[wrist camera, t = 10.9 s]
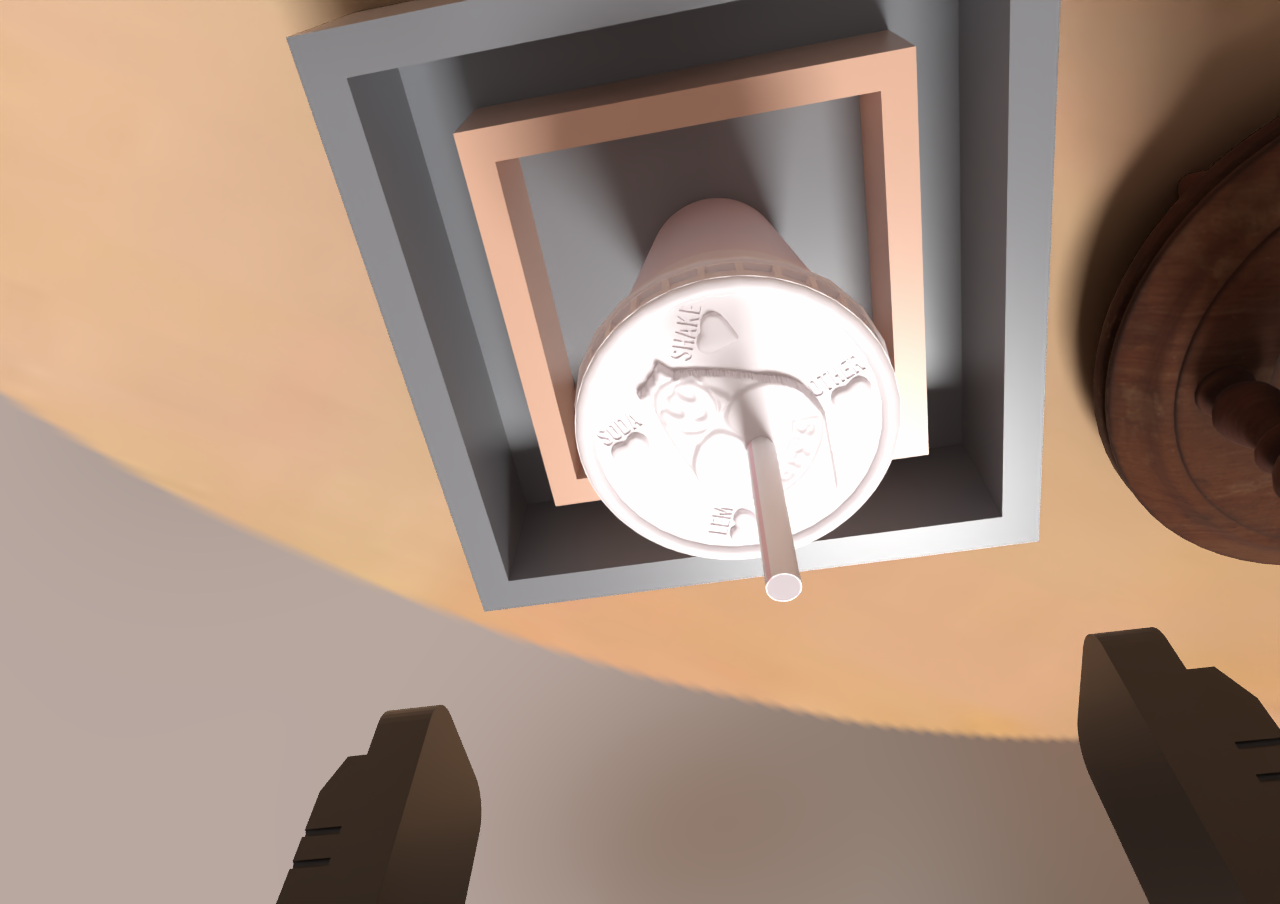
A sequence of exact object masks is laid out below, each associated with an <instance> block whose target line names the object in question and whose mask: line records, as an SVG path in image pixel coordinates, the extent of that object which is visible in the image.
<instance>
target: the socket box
mask: <svg viewBox="0 0 1280 904" xmlns="http://www.w3.org/2000/svg"><path fill="white" fill-rule="evenodd" d="M1060 1H1061V0H413V1H408V2H403V3H399V4H394V5H389V6H384V7H379V8H374V9H370V10H365V11H360V12H355V13H352V14H349V15H347V16H344V17H341V18H338V19H336V20H333V21H330V22H327V23H325V24H322V25H319V26H316V27H314V28H311V29H308V30H305V31H303V32H300V33H297V34H295V35H292V36H289V37H286V39H287V42H288V44H289V47H290V50H291V53H292V56H293V59H294V62H295V65H296V68H297V70H298V73H299V76H300V79H301V82H302V85H303V88H304V91H305V94H306V96H307V99H308V102H309V105H310V108H311V111H312V114H313V117H314V120H315V123H316V125H317V128H318V131H319V134H320V137H321V140H322V143H323V146H324V149H325V151H326V154H327V157H328V160H329V163H330V166H331V169H332V172H333V175H334V177H335V180H336V183H337V186H338V189H339V192H340V195H341V198H342V201H343V203H344V206H345V209H346V212H347V215H348V218H349V221H350V224H351V227H352V230H353V232H354V235H355V238H356V241H357V244H358V247H359V250H360V253H361V256H362V258H363V261H364V264H365V267H366V270H367V273H368V276H369V279H370V282H371V284H372V287H373V290H374V293H375V296H376V299H377V302H378V305H379V308H380V311H381V313H382V316H383V319H384V322H385V325H386V328H387V331H388V334H389V337H390V339H391V342H392V345H393V348H394V351H395V354H396V357H397V360H398V363H399V365H400V368H401V371H402V374H403V377H404V380H405V383H406V386H407V389H408V391H409V394H410V397H411V400H412V403H413V406H414V409H415V412H416V415H417V418H418V420H419V423H420V426H421V429H422V432H423V435H424V438H425V441H426V444H427V446H428V449H429V452H430V455H431V458H432V461H433V464H434V467H435V470H436V472H437V475H438V478H439V481H440V484H441V487H442V490H443V493H444V496H445V499H446V501H447V504H448V507H449V510H450V513H451V516H452V519H453V522H454V525H455V527H456V530H457V533H458V536H459V539H460V542H461V545H462V548H463V551H464V553H465V556H466V559H467V562H468V565H469V568H470V571H471V574H472V577H473V579H474V582H475V585H476V588H477V591H478V594H479V597H480V600H481V603H482V606H483V608H484V611H493V610H501V609H509V608H516V607H524V606H532V605H540V604H548V603H556V602H564V601H572V600H580V599H588V598H595V597H603V596H611V595H619V594H627V593H635V592H643V591H651V590H659V589H666V588H674V587H682V586H690V585H698V584H706V583H714V582H722V581H730V580H738V579H745V578H753V577H761V576H764V572H763V565H762V557H761V558H754V559H742V560H720V559H710V558H703V557H697V556H692V555H688V554H684V553H681V552H677V551H674V550H672V549H669V548H666V547H663V546H661V545H659V544H657V543H655V542H652V541H651V540H649V539H647V538H645V537H643V536H642V535H640V534H638V533H637V532H636V531H634V530H633V529H631V528H630V527H628V526H627V525H626V524H625V523H623V522H622V521H621V520H620V519H619V518H618V517H617V516H616V515H615V514H614V513H613V512H612V511H611V510H610V509H609V508H608V507H607V506H606V505H605V504H604V502H603V501H602V500H601V499H600V497H599V496H598V494H597V493H596V491H595V490H594V488H593V487H592V485H591V483H590V481H589V479H588V477H587V475H586V473H585V471H584V468H583V466H582V463H581V460H580V456H579V452H578V449H577V443H576V436H575V407H574V403H575V395H576V388H577V380H578V373H579V367H580V365H581V363H582V360H583V358H584V356H585V354H586V352H587V349H588V347H589V345H590V343H591V340H592V338H593V336H594V334H595V332H596V330H597V329H598V328H599V327H600V326H601V325H602V323H603V322H604V321H605V320H606V319H607V317H608V316H609V315H610V314H611V313H612V312H613V310H614V309H615V308H616V307H617V306H618V304H619V303H620V302H621V301H622V300H623V299H624V298H626V297H627V296H629V294H630V292H631V290H632V288H633V286H634V284H635V281H636V279H637V277H638V275H639V273H640V271H641V269H642V266H643V264H644V262H645V260H646V258H647V256H648V253H649V251H650V249H651V247H652V245H653V243H654V240H655V238H656V236H657V234H658V232H659V231H660V229H661V228H662V226H663V225H664V223H665V222H666V221H667V220H668V219H669V218H670V217H671V216H672V215H673V214H674V213H676V212H677V211H678V210H680V209H681V208H683V207H685V206H687V205H689V204H691V203H693V202H696V201H700V200H703V199H709V198H727V199H732V200H736V201H740V202H742V203H745V204H747V205H749V206H751V207H752V208H754V209H755V210H757V211H758V212H759V213H761V214H762V215H763V216H764V217H765V218H766V219H767V220H768V222H769V223H770V224H771V225H772V226H773V227H774V229H775V230H776V231H777V232H778V233H779V235H780V236H781V237H782V238H783V239H784V240H785V242H786V243H787V244H788V245H789V246H790V248H791V249H792V250H793V251H794V252H795V254H796V255H797V256H798V257H799V258H800V259H801V261H802V262H803V263H804V264H805V265H806V267H807V268H808V269H809V270H810V271H811V272H813V273H815V274H818V275H820V276H822V277H824V278H827V279H829V280H831V281H832V282H833V283H835V284H836V285H837V286H838V287H839V288H840V289H842V290H843V291H844V292H845V293H846V294H848V295H849V296H850V297H851V298H852V299H854V300H855V301H856V302H857V303H858V304H860V305H861V306H862V307H863V308H864V310H865V311H866V313H867V314H868V316H869V317H870V319H871V320H872V322H873V324H874V325H875V327H876V328H877V330H878V331H879V333H880V334H881V336H882V337H883V339H884V340H885V344H886V347H887V351H888V354H889V358H890V361H891V365H892V367H893V369H894V372H895V376H896V379H897V382H898V387H899V393H900V399H901V426H900V432H899V438H898V442H897V446H896V449H895V453H894V455H893V458H892V460H891V463H890V465H889V468H888V469H887V471H886V473H885V475H884V477H883V479H882V481H881V482H880V484H879V485H878V487H877V488H876V490H875V491H874V492H873V494H872V495H871V496H870V497H869V498H868V500H867V501H866V502H865V503H864V504H863V505H862V506H861V507H860V508H859V509H858V510H857V511H856V512H855V513H854V514H853V515H852V516H851V517H850V518H848V519H847V520H846V521H845V522H844V523H842V524H841V525H839V526H838V527H837V528H835V529H834V530H832V531H831V532H829V533H827V534H826V535H824V536H822V537H821V538H819V539H817V540H815V541H813V542H810V543H808V544H806V545H804V546H801V547H799V548H796V549H795V552H796V557H797V562H798V568H799V572H801V571H809V570H817V569H824V568H832V567H840V566H848V565H856V564H864V563H872V562H880V561H888V560H895V559H903V558H911V557H919V556H927V555H935V554H943V553H951V552H959V551H967V550H974V549H982V548H990V547H998V546H1006V545H1014V544H1022V543H1030V542H1038V541H1039V522H1040V497H1041V473H1042V448H1043V423H1044V398H1045V373H1046V349H1047V324H1048V299H1049V274H1050V249H1051V225H1052V200H1053V175H1054V150H1055V125H1056V101H1057V76H1058V51H1059V26H1060Z"/></svg>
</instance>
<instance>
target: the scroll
mask: <svg viewBox="0 0 1280 904" xmlns="http://www.w3.org/2000/svg"><path fill="white" fill-rule="evenodd" d="M1178 193H1179V199H1178V200H1177V201H1176V202H1175V203H1174V204H1173V206H1172V207H1171V208H1170V209H1169V210H1168V212H1167V213H1166V214H1165V215H1164V217H1163V218H1162V219H1161V220H1160V221H1159V223H1158V224H1157V225H1156V226H1155V228H1154V229H1153V230H1152V232H1151V233H1150V235H1149V236H1148V238H1147V239H1146V240H1145V242H1144V243H1143V245H1142V246H1141V248H1140V249H1139V251H1138V252H1137V254H1136V255H1135V257H1134V259H1133V260H1132V262H1131V264H1130V266H1129V267H1128V269H1127V271H1126V273H1125V274H1124V276H1123V278H1122V280H1121V282H1120V284H1119V287H1118V289H1117V291H1116V293H1115V295H1114V297H1113V299H1112V302H1111V304H1110V307H1109V310H1108V313H1107V315H1106V318H1105V321H1104V324H1103V327H1102V331H1101V335H1100V339H1099V343H1098V347H1097V352H1096V359H1095V366H1094V381H1093V397H1094V409H1095V416H1096V421H1097V425H1098V430H1099V434H1100V437H1101V440H1102V443H1103V445H1104V448H1105V451H1106V453H1107V455H1108V457H1109V459H1110V461H1111V463H1112V465H1113V467H1114V469H1115V470H1116V471H1117V473H1118V474H1119V476H1120V477H1121V479H1122V480H1123V482H1124V483H1125V484H1126V486H1127V487H1128V488H1129V489H1130V490H1131V491H1132V492H1133V494H1134V495H1135V497H1136V498H1137V499H1138V501H1139V502H1140V503H1141V504H1142V505H1143V506H1144V507H1145V508H1146V509H1147V510H1148V512H1149V513H1150V514H1151V515H1152V516H1153V517H1155V518H1156V519H1157V520H1158V521H1159V522H1160V523H1162V524H1163V525H1164V526H1165V527H1166V528H1168V529H1170V530H1171V531H1173V532H1174V533H1176V534H1177V535H1179V536H1180V537H1182V538H1184V539H1186V540H1188V541H1190V542H1192V543H1194V544H1196V545H1198V546H1200V547H1202V548H1204V549H1207V550H1210V551H1212V552H1215V553H1218V554H1220V555H1224V556H1228V557H1232V558H1235V559H1239V560H1244V561H1250V562H1256V563H1262V564H1274V565H1280V117H1278V118H1276V119H1274V120H1273V121H1271V122H1270V123H1269V124H1267V125H1266V126H1264V127H1263V128H1261V129H1260V130H1258V131H1257V132H1255V133H1254V134H1252V135H1251V136H1249V137H1248V138H1246V139H1245V140H1244V141H1242V142H1241V143H1240V144H1239V145H1237V146H1236V147H1235V148H1233V149H1232V150H1231V151H1230V152H1228V153H1227V154H1226V155H1225V156H1223V157H1222V158H1221V159H1219V160H1218V161H1217V162H1216V163H1215V164H1214V165H1213V166H1212V167H1211V168H1210V169H1208V170H1207V171H1198V172H1194V173H1191V174H1187V175H1185V176H1184V177H1183V178H1182V179H1181V180H1180V181H1179V184H1178Z"/></svg>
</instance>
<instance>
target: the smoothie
mask: <svg viewBox="0 0 1280 904" xmlns="http://www.w3.org/2000/svg"><path fill="white" fill-rule="evenodd" d="M574 407H575V436H576V443H577V449H578V452H579V456H580V460H581V463H582V466H583V468H584V471H585V473H586V475H587V477H588V479H589V481H590V483H591V485H592V487H593V488H594V490H595V491H596V493H597V494H598V496H599V497H600V499H601V500H602V501H603V502H604V504H605V505H606V506H607V507H608V508H609V509H610V510H611V511H612V512H613V513H614V514H615V515H616V516H617V517H618V518H619V519H620V520H621V521H622V522H623V523H625V524H626V525H627V526H628V527H630V528H631V529H633V530H634V531H636V532H637V533H638V534H640V535H642V536H643V537H645V538H647V539H649V540H651V541H652V542H655V543H657V544H659V545H661V546H663V547H666V548H669V549H672V550H674V551H677V552H681V553H684V554H688V555H692V556H697V557H703V558H710V559H720V560H742V559H754V558H761V557H762V565H763V572H764V579H765V586H766V592H767V594H768V595H769V596H770V597H771V598H772V599H774V600H776V601H782V602H784V601H790V600H792V599H794V598H796V597H797V596H798V595H799V594H800V592H801V590H802V583H801V578H800V573H799V568H798V562H797V557H796V552H795V549H796V548H799V547H801V546H804V545H806V544H808V543H810V542H813V541H815V540H817V539H819V538H821V537H822V536H824V535H826V534H827V533H829V532H831V531H832V530H834V529H835V528H837V527H838V526H839V525H841V524H842V523H844V522H845V521H846V520H847V519H848V518H850V517H851V516H852V515H853V514H854V513H855V512H856V511H857V510H858V509H859V508H860V507H861V506H862V505H863V504H864V503H865V502H866V501H867V500H868V498H869V497H870V496H871V495H872V494H873V492H874V491H875V490H876V488H877V487H878V485H879V484H880V482H881V481H882V479H883V477H884V475H885V473H886V471H887V469H888V468H889V465H890V463H891V460H892V458H893V455H894V453H895V449H896V446H897V442H898V438H899V432H900V426H901V399H900V393H899V387H898V382H897V379H896V376H895V372H894V369H893V367H892V365H891V361H890V358H889V354H888V351H887V347H886V344H885V340H884V339H883V337H882V336H881V334H880V333H879V331H878V330H877V328H876V327H875V325H874V324H873V322H872V320H871V319H870V317H869V316H868V314H867V313H866V311H865V310H864V308H863V307H862V306H861V305H860V304H858V303H857V302H856V301H855V300H854V299H852V298H851V297H850V296H849V295H848V294H846V293H845V292H844V291H843V290H842V289H840V288H839V287H838V286H837V285H836V284H835V283H833V282H832V281H831V280H829V279H827V278H824V277H822V276H820V275H818V274H815V273H813V272H811V271H810V270H809V269H808V268H807V267H806V265H805V264H804V263H803V262H802V261H801V259H800V258H799V257H798V256H797V255H796V254H795V252H794V251H793V250H792V249H791V248H790V246H789V245H788V244H787V243H786V242H785V240H784V239H783V238H782V237H781V236H780V235H779V233H778V232H777V231H776V230H775V229H774V227H773V226H772V225H771V224H770V223H769V222H768V220H767V219H766V218H765V217H764V216H763V215H762V214H761V213H759V212H758V211H757V210H755V209H754V208H752V207H751V206H749V205H747V204H745V203H742V202H740V201H736V200H732V199H727V198H709V199H703V200H700V201H696V202H693V203H691V204H689V205H687V206H685V207H683V208H681V209H680V210H678V211H677V212H676V213H674V214H673V215H672V216H671V217H670V218H669V219H668V220H667V221H666V222H665V223H664V225H663V226H662V228H661V229H660V231H659V232H658V234H657V236H656V238H655V240H654V243H653V245H652V247H651V249H650V251H649V253H648V256H647V258H646V260H645V262H644V264H643V266H642V269H641V271H640V273H639V275H638V277H637V279H636V281H635V284H634V286H633V288H632V290H631V292H630V294H629V296H627V297H626V298H624V299H623V300H622V301H621V302H620V303H619V304H618V306H617V307H616V308H615V309H614V310H613V312H612V313H611V314H610V315H609V316H608V317H607V319H606V320H605V321H604V322H603V323H602V325H601V326H600V327H599V328H598V329H597V330H596V332H595V334H594V336H593V338H592V340H591V343H590V345H589V347H588V349H587V352H586V354H585V356H584V358H583V360H582V363H581V365H580V367H579V373H578V380H577V388H576V395H575V403H574Z"/></svg>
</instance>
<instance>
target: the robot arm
mask: <svg viewBox="0 0 1280 904" xmlns="http://www.w3.org/2000/svg"><path fill="white" fill-rule="evenodd" d="M1078 736H1079V742H1080V747H1081V752H1082V755H1083V759H1084V762H1085V765H1086V768H1087V770H1088V773H1089V775H1090V778H1091V780H1092V782H1093V784H1094V786H1095V788H1096V791H1097V793H1098V795H1099V797H1100V799H1101V801H1102V803H1103V806H1104V808H1105V810H1106V812H1107V814H1108V816H1109V818H1110V821H1111V823H1112V825H1113V827H1114V829H1115V831H1116V833H1117V835H1118V837H1119V839H1120V842H1121V844H1122V846H1123V848H1124V850H1125V853H1126V854H1127V857H1128V859H1129V861H1130V863H1131V865H1132V867H1133V869H1134V872H1135V874H1136V876H1137V878H1138V880H1139V882H1140V884H1141V887H1142V889H1143V891H1144V893H1145V895H1146V897H1147V900H1148V902H1149V904H1280V729H1279V727H1278V726H1277V725H1276V723H1275V722H1274V720H1273V719H1272V718H1271V716H1270V715H1269V714H1268V712H1267V711H1266V709H1265V708H1264V707H1263V705H1262V704H1261V702H1260V701H1259V700H1258V698H1257V697H1255V696H1254V695H1252V694H1251V693H1250V692H1248V691H1247V690H1246V689H1244V688H1243V687H1241V686H1240V685H1239V684H1237V683H1236V682H1235V681H1233V680H1232V679H1231V678H1229V677H1228V676H1226V675H1225V674H1224V673H1222V672H1221V671H1220V670H1218V669H1217V668H1215V667H1206V668H1197V669H1186V668H1185V666H1184V665H1183V663H1182V662H1181V660H1180V659H1179V657H1178V655H1177V654H1176V652H1175V651H1174V649H1173V648H1172V646H1171V645H1170V643H1169V642H1168V640H1167V639H1166V637H1165V636H1164V635H1163V634H1162V633H1161V631H1160V630H1158V629H1157V628H1154V627H1150V628H1141V629H1132V630H1123V631H1114V632H1106V633H1097V634H1089V635H1087V636H1086V638H1085V641H1084V646H1083V657H1082V670H1081V682H1080V695H1079V708H1078ZM480 825H481V798H480V791H479V786H478V782H477V780H476V777H475V774H474V772H473V769H472V767H471V764H470V762H469V759H468V757H467V754H466V752H465V749H464V747H463V745H462V742H461V740H460V737H459V735H458V732H457V730H456V728H455V725H454V722H453V720H452V718H451V715H450V713H449V711H448V710H447V708H446V707H445V706H443V705H436V706H427V707H419V708H410V709H401V710H392V711H387V712H385V713H384V714H383V715H382V717H381V718H380V720H379V723H378V725H377V728H376V731H375V734H374V737H373V739H372V742H371V745H370V748H369V751H368V754H367V755H359V756H350V757H347V759H346V760H345V761H344V762H343V764H342V765H341V766H340V767H339V769H338V770H337V771H336V772H335V774H334V775H333V776H332V777H331V779H330V780H329V781H328V782H327V783H326V785H325V786H324V787H323V788H322V790H321V791H320V793H319V795H318V798H317V800H316V803H315V806H314V808H313V811H312V813H311V816H310V818H309V821H308V824H307V826H306V829H305V831H306V835H305V837H302V839H301V841H300V844H299V847H298V849H297V852H296V854H295V857H294V859H293V863H294V865H293V869H290V870H289V872H288V875H287V877H286V880H285V882H284V885H283V888H282V890H281V893H280V895H279V898H278V900H277V903H276V904H465V900H466V896H467V891H468V886H469V881H470V876H471V871H472V866H473V861H474V857H475V852H476V847H477V842H478V837H479V832H480Z"/></svg>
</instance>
